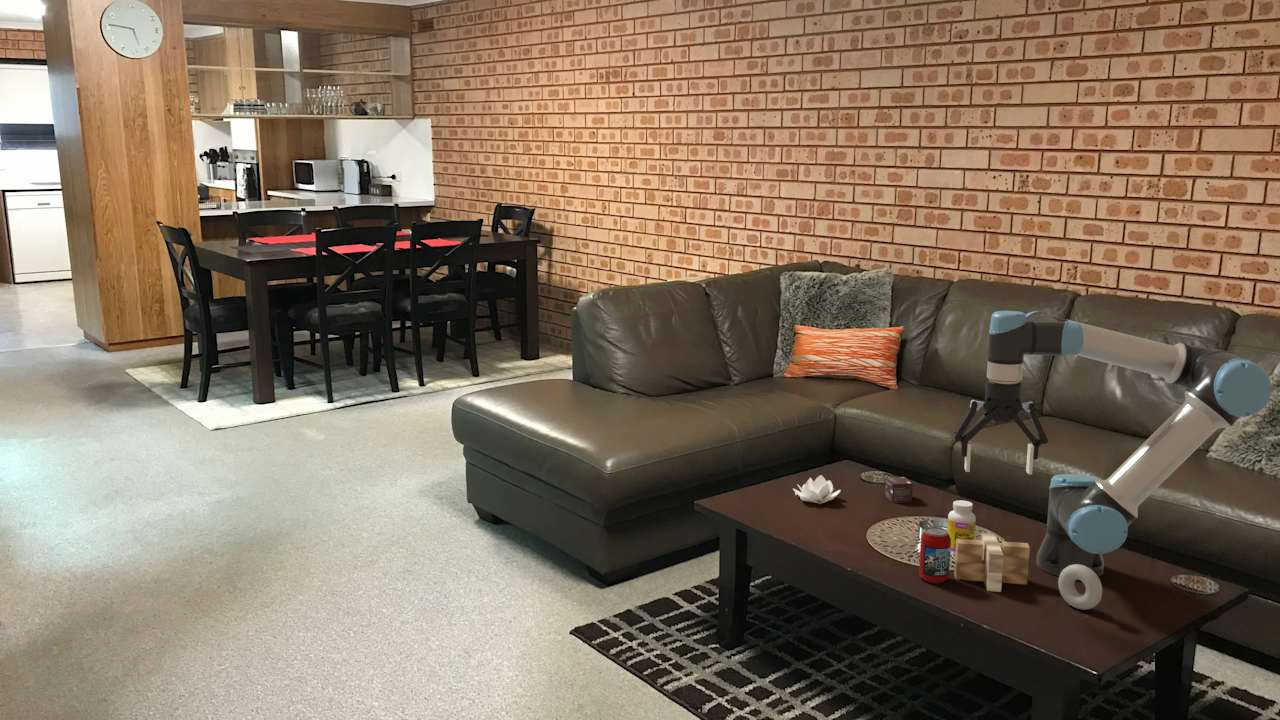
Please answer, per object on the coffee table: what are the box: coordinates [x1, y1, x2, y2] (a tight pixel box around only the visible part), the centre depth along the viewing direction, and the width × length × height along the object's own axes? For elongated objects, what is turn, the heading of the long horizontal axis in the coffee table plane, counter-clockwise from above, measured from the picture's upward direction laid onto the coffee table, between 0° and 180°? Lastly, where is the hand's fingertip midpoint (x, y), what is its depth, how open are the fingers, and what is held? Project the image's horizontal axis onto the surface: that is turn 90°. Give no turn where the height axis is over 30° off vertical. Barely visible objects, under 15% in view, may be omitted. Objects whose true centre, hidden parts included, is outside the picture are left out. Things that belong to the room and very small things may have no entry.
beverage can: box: [918, 526, 951, 584], centre depth 245 cm, size 7×7×12 cm
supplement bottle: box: [946, 499, 977, 555], centre depth 263 cm, size 7×7×13 cm
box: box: [884, 476, 914, 504], centre depth 299 cm, size 6×6×7 cm
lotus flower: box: [792, 474, 842, 505], centre depth 298 cm, size 14×15×9 cm
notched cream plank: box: [980, 532, 1004, 593], centre depth 246 cm, size 14×3×9 cm, turn 170°
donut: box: [1057, 564, 1103, 611], centre depth 230 cm, size 10×4×10 cm, turn 35°
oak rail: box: [954, 539, 1031, 585], centre depth 246 cm, size 16×3×9 cm, turn 80°
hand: (997, 471), depth 238 cm, fingers open, 13 cm apart
